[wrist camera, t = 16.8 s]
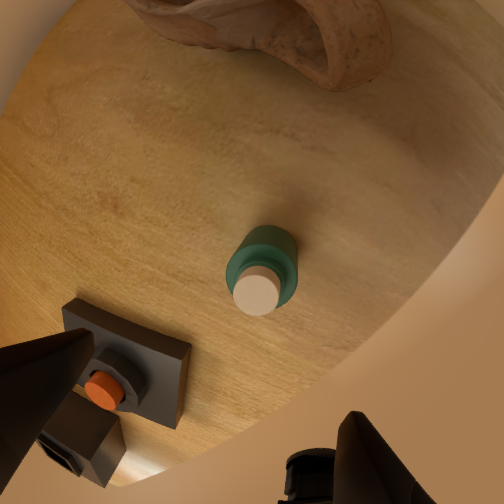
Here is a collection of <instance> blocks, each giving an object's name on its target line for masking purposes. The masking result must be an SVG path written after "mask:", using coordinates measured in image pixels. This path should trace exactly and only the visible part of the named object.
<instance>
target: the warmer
mask: <svg viewBox="0 0 504 504" xmlns="http://www.w3.org/2000/svg"><path fill="white" fill-rule="evenodd" d="M35 441H36V442H37V444H38V445H39V446H40V447H41V448H42V449H43V451H44V452H45V454H46V455H47V456H48V457H50V458H51V459H52V460H54V461H55V462H57V463H58V464H59V465H61V466H62V467H64V468H66V469H67V470H68V471H70V472H71V473H73V474H75V475H76V476H78V477H80V475H82V476H84V477H85V478H87V479H89V480H90V481H92V482H94V483H96V484H98V485H99V486H101V487H103V488H105V487H106V485H107V483H108V482H109V480H110V478H111V476H112V475H113V473H114V471H115V469H116V468H117V466H118V464H119V462H120V461H121V459H122V457H123V456H124V454H125V452H126V449H125V444H124V440H123V435H122V430H121V425H120V420H119V416H117V415H115V414H113V413H111V412H109V411H107V410H105V409H103V408H101V407H99V406H97V405H96V404H94V403H92V402H90V401H88V400H87V399H85V398H83V397H82V396H80V395H78V394H76V393H75V392H73V391H72V390H71V392H70V393H69V394H68V396H67V397H66V398H65V400H64V401H63V402H62V404H61V405H60V407H59V408H58V409H57V411H56V412H55V413H54V415H53V416H52V418H51V419H50V420H49V422H48V423H47V425H46V426H45V427H44V429H43V430H42V432H41V433H40V435H39V436H38V438H37V439H36V440H35Z"/></svg>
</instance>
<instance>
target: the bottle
mask: <svg viewBox="0 0 504 504" xmlns="http://www.w3.org/2000/svg"><path fill="white" fill-rule="evenodd" d="M226 282H227V285H228V288H229V290H230V292H231V294H232V295H233V298H234V301H235V303H236V305H237V307H238V308H239V309H240V310H241V311H243V312H244V313H246V314H248V315H251V316H264V315H267V314H269V313H270V312H272V311H273V310H274V309H275V308H278V307H280V306H282V305H283V304H285V303H286V302H287V301H288V300H289V299H290V298H291V297H292V295H293V294H294V292H295V290H296V287H297V282H298V266H297V248H296V244H295V242H294V240H293V238H292V237H291V236H290V235H289V234H288V233H287V232H286V231H285V230H283V229H281V228H279V227H276V226H261V227H258V228H256V229H254V230H252V231H251V232H250V233H249V234H248V235H247V236H246V237H245V239H244V240H243V242H242V243H241V245H240V246H239V247H238V249H237V250H236V252H235V253H234V255H233V256H232V257H231V259H230V261H229V263H228V265H227V269H226Z"/></svg>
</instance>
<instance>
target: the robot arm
mask: <svg viewBox="0 0 504 504" xmlns="http://www.w3.org/2000/svg"><path fill="white" fill-rule="evenodd" d="M94 352H95V345H94V335H93V332H92V331H90V330H88V329H86V328H84V327H81V328H77V329H74V330H70V331H66V332H62V333H58V334H55V335H51V336H47V337H43V338H39V339H35V340H31V341H27V342H23V343H19V344H15V345H10V346H6V347H2V348H0V495H1V494H2V492H3V491H4V489H5V487H6V486H7V484H8V482H9V481H10V479H11V478H12V476H13V474H14V473H15V471H16V470H17V468H18V466H19V465H20V463H21V462H22V460H23V458H24V457H25V455H26V454H27V452H28V451H29V449H30V448H31V446H32V445H33V443H34V442H35V440H36V439H37V438H38V436H39V435H40V433H41V432H42V430H43V429H44V427H45V426H46V425H47V423H48V422H49V420H50V419H51V418H52V416H53V415H54V413H55V412H56V411H57V409H58V408H59V407H60V405H61V404H62V402H63V401H64V400H65V398H66V397H67V396H68V394H69V393H70V392H71V390H72V389H73V388H74V386H75V385H76V383H77V382H78V380H79V378H80V377H81V375H82V373H83V372H84V370H85V368H86V366H87V365H88V363H89V362H90V360H91V358H92V357H93V355H94ZM284 494H285V495H288V501H283V500H279V501H278V504H436V502H434V500H433V499H431V497H430V496H429V495H428V494H427V493H426V492H425V490H424V489H423V488H422V487H421V486H420V484H419V483H418V482H417V481H416V480H415V478H414V477H413V476H412V474H411V473H410V472H409V471H408V469H407V468H406V467H405V466H404V464H403V463H402V462H401V460H400V459H399V458H398V457H397V455H396V454H395V453H394V452H393V451H392V449H391V448H390V447H389V445H388V444H387V443H386V441H385V440H384V439H383V438H382V436H381V435H380V434H379V432H378V431H377V430H376V429H375V427H374V426H373V425H372V423H371V422H370V421H369V420H368V418H367V417H366V416H365V415H364V414H363V413H362V412H358V411H351V412H350V413H349V414H348V415H347V416H346V418H345V419H344V420H343V422H342V423H341V425H340V427H339V430H338V438H337V448H336V455H335V458H328V457H318V456H309V455H301V456H300V457H299V458H298V460H297V461H296V462H295V463H294V464H293V465H292V466H291V467H290V468H289V469H288V470H287V472H286V482H285V491H284Z"/></svg>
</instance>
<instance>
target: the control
mask: <svg viewBox="0 0 504 504" xmlns="http://www.w3.org/2000/svg"><path fill="white" fill-rule="evenodd" d="M62 315H63V322H64V328H65V332H66V331H70V330H74V329H77V328H81V327H84V328H86V329H88V330H90V331H92V332H93V335H94V345H95V352H94V355H93V357H92V358H91V360H90V362H89V363H88V365H87V366H86V368H85V370H84V372H83V373H82V375H81V377H80V378H79V380H78V382H77V384H79V385H81V386H82V387H84V388H85V384H86V383H87V381H88V380H89V379H90V378H91V377H92V376H93V375H94V374H95V372H97V371H102V372H104V373H106V374H108V375H110V376H111V377H112V378H113V379H115V380H116V381H117V382H118V383H119V384H120V385H121V387H122V388H123V390H124V392H125V395H124V397H123V398H122V400H121V401H120V403H119V404H118V405H117V407H116V408H115V410H117V411H123V412H133V413H135V414H137V415H139V416H142V417H144V418H146V419H149V420H151V421H154V422H156V423H159V424H161V425H164V426H166V427H169V428H172V429H174V430H175V429H176V427H177V425H178V423H179V421H180V418H181V416H182V411H183V402H184V394H185V386H186V379H187V371H188V364H189V357H190V350H191V344H189V343H186V342H183V341H180V340H177V339H174V338H171V337H168V336H166V335H163V334H160V333H158V332H155V331H152V330H150V329H147V328H145V327H142V326H139V325H137V324H134V323H132V322H130V321H127V320H125V319H122V318H120V317H118V316H115V315H113V314H111V313H108V312H106V311H104V310H102V309H99V308H97V307H95V306H93V305H91V304H88V303H86V302H84V301H82V300H80V299H78V298H74V299H73V300H71V301H70V302H68V303H67V304H66V305H64V306H63V307H62Z"/></svg>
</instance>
